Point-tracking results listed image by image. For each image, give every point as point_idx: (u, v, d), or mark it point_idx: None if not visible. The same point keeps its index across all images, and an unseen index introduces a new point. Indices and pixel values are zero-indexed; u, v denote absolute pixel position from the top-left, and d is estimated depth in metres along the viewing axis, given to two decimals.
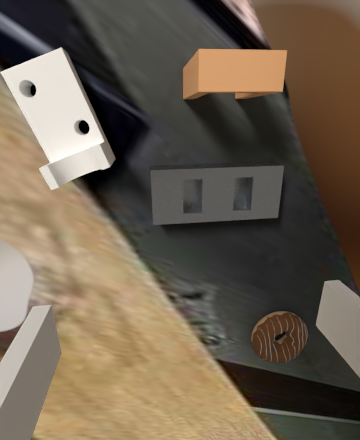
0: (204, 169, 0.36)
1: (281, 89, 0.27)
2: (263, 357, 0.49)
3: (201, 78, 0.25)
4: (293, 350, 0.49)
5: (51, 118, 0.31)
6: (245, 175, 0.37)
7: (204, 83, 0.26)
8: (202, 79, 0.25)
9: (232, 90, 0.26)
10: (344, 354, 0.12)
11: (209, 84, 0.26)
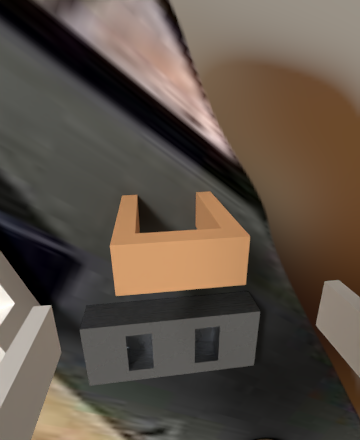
0: (153, 323, 0.27)
1: (243, 282, 0.18)
2: None
3: (119, 280, 0.17)
4: None
5: None
6: (209, 325, 0.28)
7: (124, 285, 0.17)
8: (120, 281, 0.17)
9: (168, 290, 0.17)
10: (344, 354, 0.12)
11: (132, 286, 0.17)
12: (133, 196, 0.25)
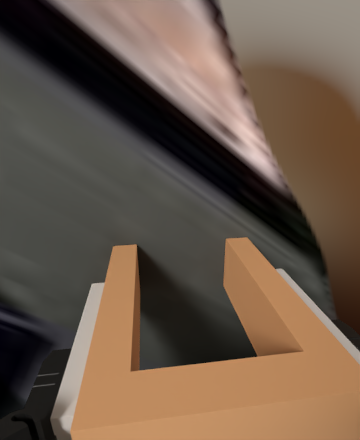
0: None
1: None
2: None
3: None
4: None
5: None
6: None
7: None
8: None
9: None
10: None
11: None
12: (130, 248, 0.16)
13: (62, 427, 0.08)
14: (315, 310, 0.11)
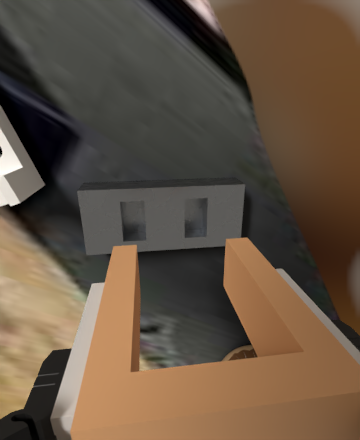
0: (145, 189, 0.29)
1: None
2: None
3: None
4: None
5: None
6: (197, 196, 0.30)
7: None
8: None
9: None
10: None
11: None
12: (130, 248, 0.16)
13: (62, 427, 0.08)
14: (315, 310, 0.11)
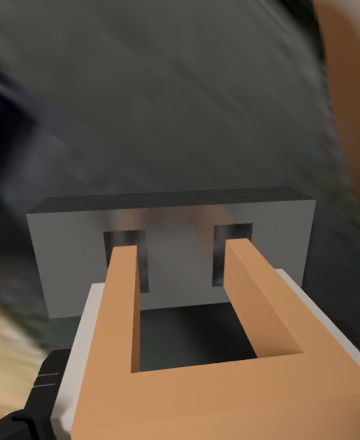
0: (148, 210, 0.17)
1: None
2: None
3: None
4: None
5: None
6: (236, 220, 0.18)
7: None
8: None
9: None
10: None
11: None
12: (130, 249, 0.16)
13: (62, 427, 0.08)
14: (315, 310, 0.11)
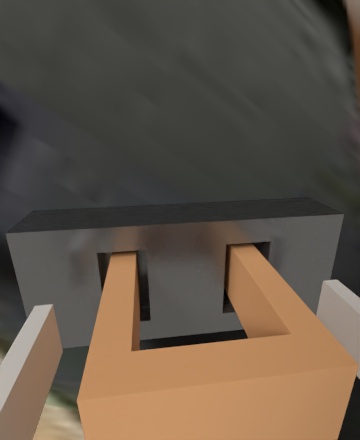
0: (149, 227, 0.14)
1: (334, 436, 0.10)
2: None
3: None
4: None
5: None
6: (251, 238, 0.15)
7: None
8: None
9: None
10: None
11: None
12: None
13: None
14: None
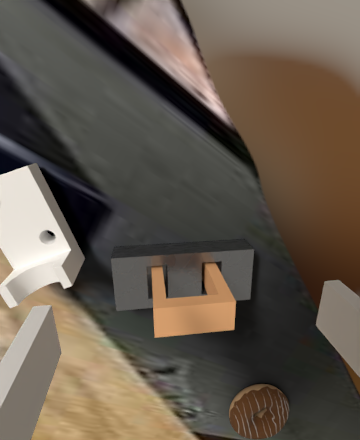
0: (168, 255, 0.34)
1: (233, 328, 0.29)
2: (242, 435, 0.46)
3: (157, 328, 0.28)
4: (274, 426, 0.46)
5: (15, 229, 0.31)
6: (213, 260, 0.35)
7: (160, 331, 0.28)
8: (158, 328, 0.28)
9: (186, 333, 0.28)
10: (344, 354, 0.12)
11: (164, 331, 0.28)
12: None
13: None
14: None
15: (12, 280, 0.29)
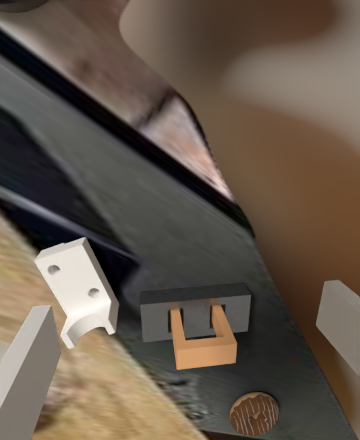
0: (184, 301, 0.43)
1: (234, 361, 0.39)
2: (240, 433, 0.57)
3: (179, 363, 0.37)
4: (267, 425, 0.57)
5: (70, 288, 0.40)
6: (219, 303, 0.44)
7: (181, 365, 0.38)
8: (179, 363, 0.38)
9: (200, 366, 0.38)
10: (344, 354, 0.12)
11: (184, 365, 0.38)
12: None
13: None
14: None
15: (70, 328, 0.39)
